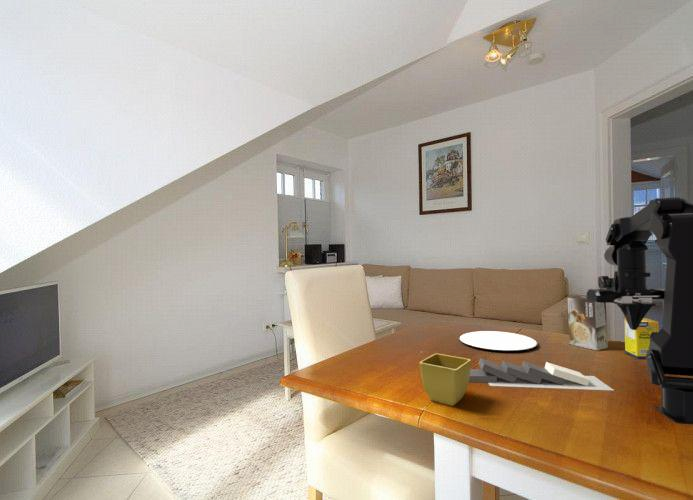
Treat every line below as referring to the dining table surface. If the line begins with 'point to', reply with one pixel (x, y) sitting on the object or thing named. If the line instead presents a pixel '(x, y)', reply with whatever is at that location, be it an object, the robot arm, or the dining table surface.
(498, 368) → the domino
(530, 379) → the domino
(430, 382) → the flower pot
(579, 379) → the domino
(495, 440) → the dining table surface
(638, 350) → the supplement box
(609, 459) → the dining table surface
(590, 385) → the runner mat
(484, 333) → the plate
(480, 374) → the domino
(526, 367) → the domino
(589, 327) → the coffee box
